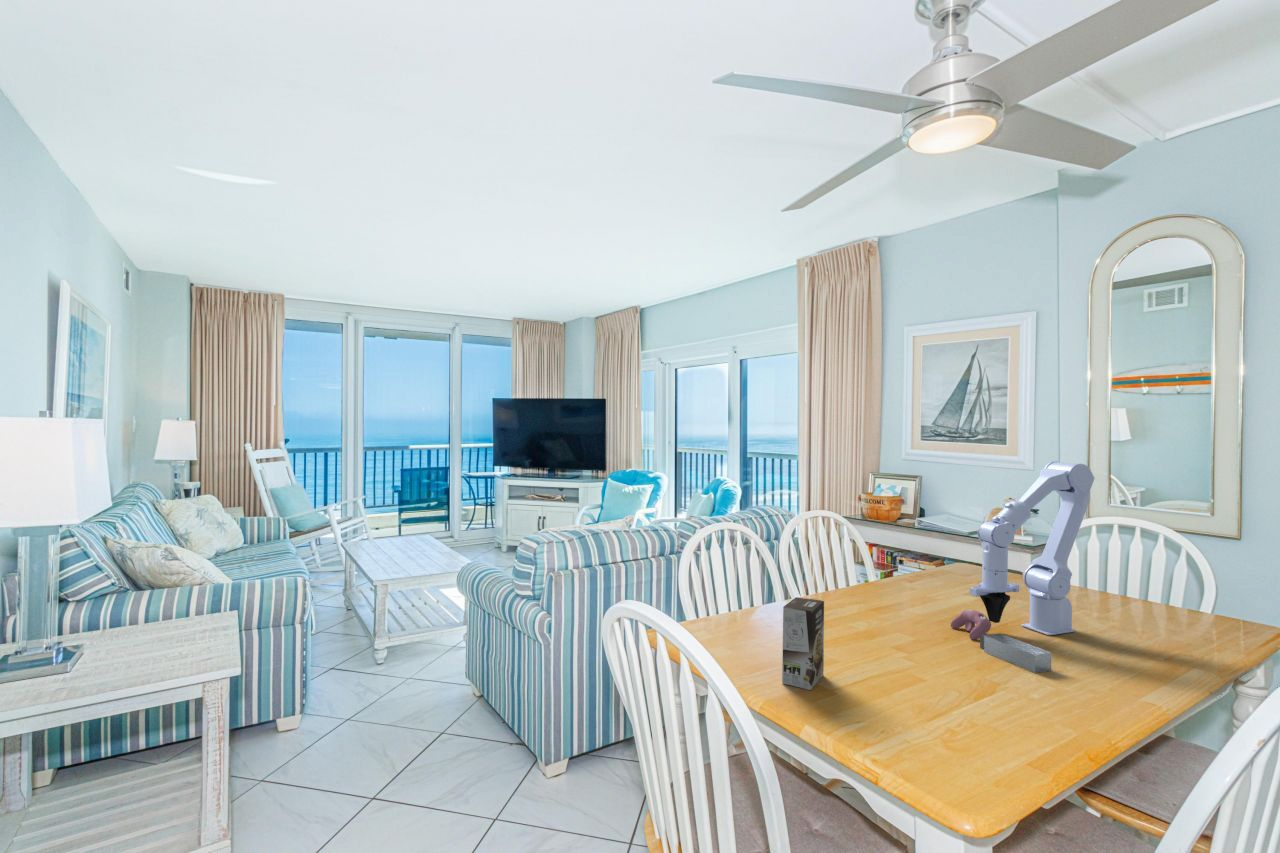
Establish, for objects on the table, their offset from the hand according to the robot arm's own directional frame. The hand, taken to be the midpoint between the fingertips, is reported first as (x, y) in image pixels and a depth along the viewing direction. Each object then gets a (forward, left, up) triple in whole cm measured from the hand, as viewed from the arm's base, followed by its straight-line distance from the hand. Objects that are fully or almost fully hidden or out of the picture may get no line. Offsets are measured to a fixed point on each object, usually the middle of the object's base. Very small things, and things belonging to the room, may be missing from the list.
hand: (994, 621), depth 161 cm
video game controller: (+7, -1, -3) cm, 8 cm away
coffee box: (+64, +10, -3) cm, 65 cm away
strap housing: (+12, +16, -3) cm, 20 cm away
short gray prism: (+12, +14, -3) cm, 18 cm away
